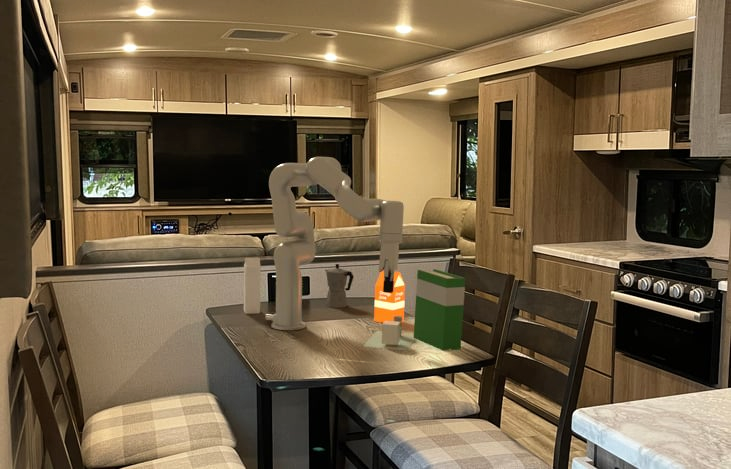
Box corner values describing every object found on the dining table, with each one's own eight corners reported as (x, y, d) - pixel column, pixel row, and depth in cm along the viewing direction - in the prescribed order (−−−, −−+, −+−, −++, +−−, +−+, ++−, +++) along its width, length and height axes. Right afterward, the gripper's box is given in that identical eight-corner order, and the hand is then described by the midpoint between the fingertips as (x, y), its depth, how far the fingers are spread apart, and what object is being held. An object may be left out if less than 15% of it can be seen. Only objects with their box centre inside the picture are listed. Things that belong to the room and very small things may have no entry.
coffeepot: (317, 304, 290) (318, 263, 289) (332, 301, 298) (333, 261, 296) (344, 310, 281) (346, 267, 279) (359, 307, 288) (360, 265, 286)
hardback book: (413, 337, 238) (417, 269, 235) (431, 335, 241) (435, 269, 239) (442, 351, 223) (447, 278, 220) (460, 349, 226) (465, 278, 223)
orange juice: (392, 325, 257) (394, 273, 255) (373, 321, 262) (375, 270, 260) (404, 322, 263) (405, 271, 261) (385, 318, 268) (387, 268, 266)
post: (392, 336, 239) (393, 316, 238) (394, 334, 241) (394, 315, 240) (400, 337, 238) (400, 317, 237) (401, 335, 241) (402, 315, 240)
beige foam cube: (381, 343, 225) (382, 324, 224) (384, 339, 230) (385, 320, 229) (397, 344, 224) (397, 325, 223) (399, 341, 229) (400, 321, 228)
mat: (362, 347, 224) (362, 346, 224) (376, 332, 246) (376, 331, 246) (407, 351, 221) (407, 350, 221) (417, 335, 243) (417, 334, 243)
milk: (260, 313, 271) (261, 258, 269) (244, 313, 270) (245, 259, 267) (258, 310, 277) (259, 256, 275) (243, 310, 275) (244, 256, 273)
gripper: (384, 234, 234) (381, 287, 236) (375, 239, 219) (372, 295, 221) (405, 236, 232) (403, 289, 234) (397, 241, 218) (395, 297, 220)
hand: (388, 292), depth 228 cm, fingers closed
